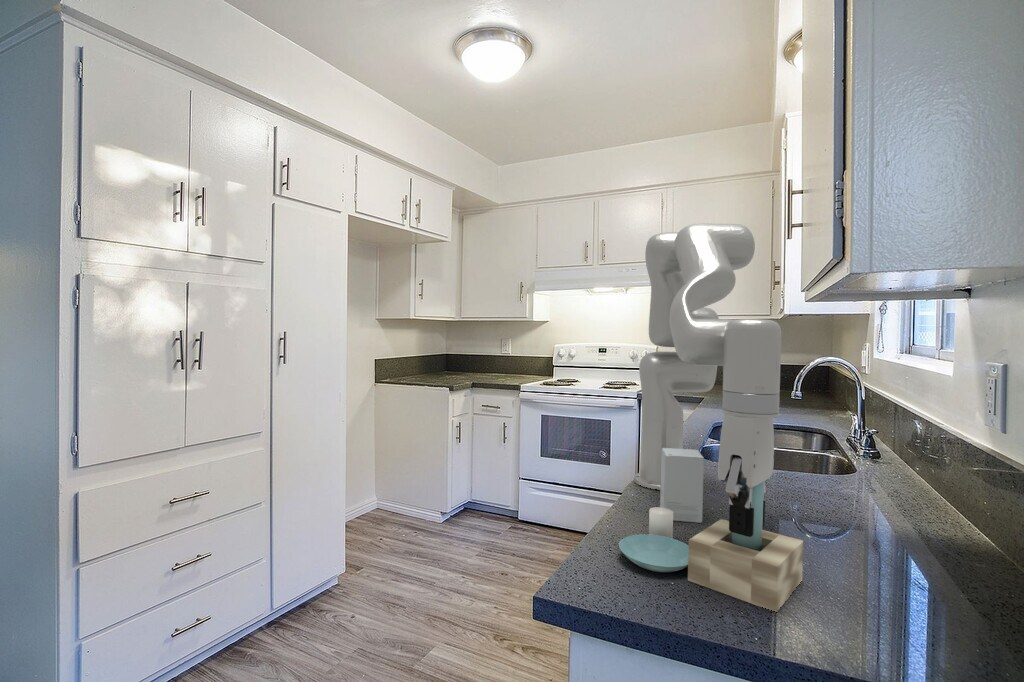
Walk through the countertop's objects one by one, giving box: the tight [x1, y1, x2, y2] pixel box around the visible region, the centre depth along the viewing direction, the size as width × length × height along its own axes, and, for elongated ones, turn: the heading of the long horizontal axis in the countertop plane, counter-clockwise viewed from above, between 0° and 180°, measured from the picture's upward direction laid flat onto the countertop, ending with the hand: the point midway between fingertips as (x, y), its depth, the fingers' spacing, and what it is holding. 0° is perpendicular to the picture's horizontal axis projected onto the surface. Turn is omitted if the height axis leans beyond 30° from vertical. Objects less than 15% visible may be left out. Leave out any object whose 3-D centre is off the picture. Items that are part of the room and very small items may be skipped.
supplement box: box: [659, 448, 705, 524], centre depth 102 cm, size 7×7×13 cm
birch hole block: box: [687, 518, 804, 613], centre depth 75 cm, size 12×12×6 cm
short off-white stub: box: [648, 506, 674, 539], centre depth 90 cm, size 4×4×5 cm
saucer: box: [618, 533, 689, 573], centre depth 81 cm, size 12×12×2 cm
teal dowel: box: [732, 480, 764, 552], centre depth 75 cm, size 4×4×14 cm
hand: (746, 528), depth 75 cm, fingers closed on teal dowel, 4 cm apart
